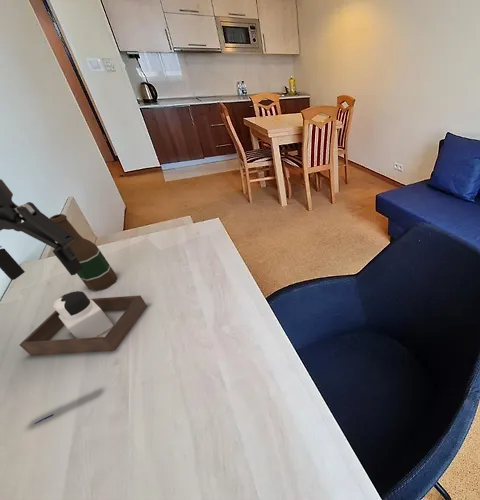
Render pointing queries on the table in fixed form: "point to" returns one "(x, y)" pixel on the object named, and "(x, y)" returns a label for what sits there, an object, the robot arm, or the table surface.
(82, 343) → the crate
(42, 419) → the ballpoint pen
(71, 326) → the medicine bottle
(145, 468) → the table surface
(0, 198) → the robot arm
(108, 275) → the beer bottle
